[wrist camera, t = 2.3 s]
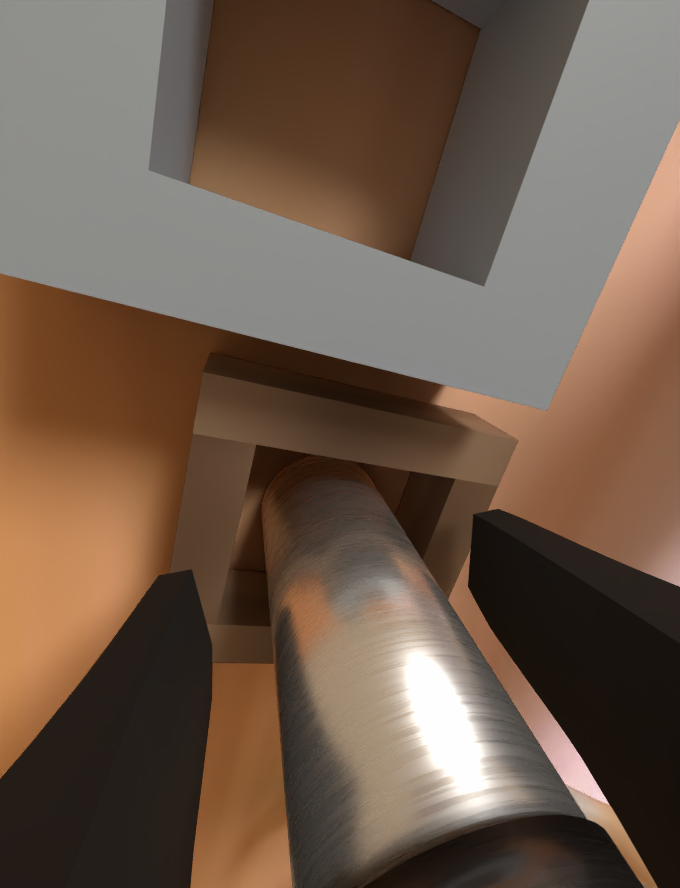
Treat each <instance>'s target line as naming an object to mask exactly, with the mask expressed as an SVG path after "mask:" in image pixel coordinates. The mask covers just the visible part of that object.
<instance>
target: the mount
mask: <svg viewBox="0 0 680 888" xmlns="http://www.w3.org/2000/svg"><path fill="white" fill-rule="evenodd" d="M517 442H518V440H517V439H515V438H513V437H512V436H510V435H508V434H507V433H505V432H503V431H501V430H500V429H498V428H496V427H495V426H493V425H491V424H490V423H488V422H486V421H485V420H483V419H481V418H480V417H478V416H476V415H475V414H472V413H467V412H463V411H459V410H454V409H450V408H446V407H442V406H437V405H433V404H429V403H424V402H420V401H416V400H411V399H407V398H403V397H398V396H394V395H390V394H385V393H381V392H377V391H373V390H368V389H364V388H360V387H355V386H351V385H347V384H342V383H338V382H334V381H329V380H325V379H321V378H317V377H312V376H308V375H304V374H299V373H295V372H291V371H286V370H282V369H278V368H273V367H269V366H265V365H261V364H256V363H252V362H248V361H243V360H239V359H235V358H230V357H226V356H222V355H217V354H213V353H210V356H209V358H208V361H207V363H206V365H205V368H204V370H203V374H202V380H201V386H200V392H199V398H198V404H197V410H196V416H195V422H194V428H193V434H192V440H191V446H190V452H189V458H188V464H187V470H186V476H185V482H184V488H183V494H182V500H181V506H180V512H179V518H178V524H177V530H176V536H175V542H174V548H173V554H172V560H171V566H170V572H169V573H175V572H180V571H185V570H190V569H192V571H193V575H194V579H195V582H196V586H197V590H198V594H199V597H200V601H201V605H202V608H203V612H204V616H205V619H206V623H207V627H208V630H209V634H210V638H211V642H212V663H267V664H274V657H273V645H272V633H271V621H270V609H269V597H268V585H267V573H266V572H257V571H244V570H231V569H229V565H230V561H231V556H232V552H233V547H234V543H235V538H236V534H237V529H238V525H239V520H240V516H241V511H242V507H243V502H244V498H245V493H246V489H247V484H248V480H249V475H250V471H251V466H252V462H253V457H254V453H255V448H256V445H262V446H268V447H274V448H279V449H285V450H291V451H297V452H303V453H308V454H314V455H320V456H326V457H332V458H337V459H343V460H349V461H355V462H361V463H366V464H372V465H378V466H384V467H390V468H395V469H401V470H407V471H412V472H411V475H410V478H409V480H408V483H407V486H406V489H405V491H404V494H403V497H402V500H401V502H400V505H399V508H398V511H397V513H396V516H395V518H396V519H397V521H398V523H399V524H400V526H401V527H402V529H403V530H404V532H405V534H406V535H407V537H408V538H409V540H410V541H411V543H412V545H413V546H414V548H415V549H416V551H417V552H418V554H419V556H420V557H421V559H422V560H423V562H424V563H425V565H426V567H427V568H428V570H429V571H430V573H431V574H432V576H433V578H434V579H435V581H436V582H437V584H438V585H439V587H440V589H441V590H442V592H443V593H444V595H445V596H446V598H447V600H448V598H449V596H450V593H451V591H452V589H453V587H454V584H455V582H456V580H457V578H458V575H459V573H460V571H461V569H462V566H463V564H464V562H465V560H466V557H467V555H468V553H469V551H470V548H471V538H472V524H473V514H476V513H481V512H486V511H487V510H488V508H489V505H490V503H491V501H492V499H493V496H494V494H495V492H496V490H497V487H498V485H499V483H500V481H501V478H502V476H503V474H504V472H505V469H506V467H507V465H508V463H509V460H510V458H511V456H512V454H513V451H514V449H515V447H516V444H517Z"/></svg>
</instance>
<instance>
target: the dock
mask: <svg viewBox="0 0 680 888" xmlns="http://www.w3.org/2000/svg"><path fill="white" fill-rule="evenodd" d="M431 1H433V2H435V3H436V4H438V5H440V6H442V7H443V8H445V9H447V10H449V11H450V12H452V13H454V14H456V15H457V16H459V17H461V18H463V19H464V20H466V21H468V22H470V23H471V24H473V25H475V26H477V27H478V28H480V32H479V36H478V39H477V42H476V45H475V49H474V52H473V55H472V59H471V62H470V65H469V68H468V72H467V75H466V78H465V82H464V85H463V88H462V91H461V95H460V98H459V101H458V104H457V108H456V111H455V114H454V118H453V121H452V124H451V127H450V131H449V134H448V137H447V141H446V144H445V147H444V150H443V154H442V157H441V160H440V163H439V167H438V170H437V173H436V177H435V180H434V183H433V186H432V190H431V193H430V196H429V200H428V203H427V206H426V209H425V213H424V216H423V219H422V223H421V226H420V229H419V232H418V236H417V239H416V242H415V245H414V249H413V252H412V255H411V259H410V261H409V260H406V259H403V258H400V257H397V256H394V255H391V254H388V253H386V252H383V251H380V250H377V249H374V248H371V247H368V246H365V245H362V244H360V243H357V242H354V241H351V240H348V239H345V238H342V237H339V236H337V235H334V234H331V233H328V232H325V231H322V230H319V229H316V228H313V227H311V226H308V225H305V224H302V223H299V222H296V221H293V220H290V219H288V218H285V217H282V216H279V215H276V214H273V213H270V212H267V211H265V210H262V209H259V208H256V207H253V206H250V205H247V204H244V203H241V202H239V201H236V200H233V199H230V198H227V197H224V196H221V195H218V194H216V193H213V192H210V191H207V190H204V189H201V188H198V187H195V186H192V185H190V184H189V183H190V176H191V168H192V161H193V154H194V146H195V139H196V131H197V124H198V117H199V109H200V102H201V95H202V87H203V80H204V72H205V65H206V58H207V50H208V43H209V36H210V28H211V21H212V13H213V6H214V0H0V274H4V275H8V276H12V277H16V278H20V279H24V280H28V281H32V282H36V283H40V284H44V285H48V286H52V287H56V288H60V289H64V290H68V291H72V292H76V293H80V294H84V295H88V296H92V297H96V298H100V299H104V300H108V301H112V302H116V303H120V304H124V305H128V306H132V307H136V308H140V309H144V310H148V311H152V312H156V313H160V314H164V315H168V316H172V317H176V318H180V319H183V320H187V321H191V322H195V323H199V324H203V325H207V326H211V327H215V328H219V329H223V330H227V331H231V332H235V333H239V334H243V335H247V336H251V337H255V338H259V339H263V340H267V341H271V342H275V343H279V344H283V345H287V346H291V347H295V348H299V349H303V350H307V351H311V352H315V353H319V354H323V355H327V356H331V357H335V358H339V359H343V360H347V361H351V362H355V363H359V364H363V365H367V366H371V367H375V368H379V369H383V370H387V371H391V372H395V373H399V374H403V375H407V376H410V377H414V378H418V379H422V380H426V381H430V382H434V383H438V384H442V385H446V386H450V387H454V388H458V389H462V390H466V391H470V392H474V393H478V394H482V395H486V396H490V397H494V398H498V399H502V400H506V401H510V402H514V403H518V404H522V405H526V406H530V407H534V408H538V409H542V410H546V411H547V409H548V407H549V405H550V403H551V401H552V398H553V396H554V394H555V392H556V390H557V387H558V385H559V383H560V381H561V379H562V376H563V374H564V372H565V370H566V368H567V365H568V363H569V361H570V359H571V357H572V354H573V352H574V350H575V348H576V346H577V344H578V341H579V339H580V337H581V335H582V333H583V330H584V328H585V326H586V324H587V322H588V319H589V317H590V315H591V313H592V311H593V308H594V306H595V304H596V302H597V300H598V297H599V295H600V293H601V291H602V289H603V286H604V284H605V282H606V280H607V278H608V275H609V273H610V271H611V269H612V267H613V265H614V262H615V260H616V258H617V256H618V254H619V251H620V249H621V247H622V245H623V243H624V240H625V238H626V236H627V234H628V232H629V229H630V227H631V225H632V223H633V221H634V218H635V216H636V214H637V212H638V210H639V207H640V205H641V203H642V201H643V199H644V196H645V194H646V192H647V190H648V188H649V185H650V183H651V181H652V179H653V177H654V175H655V172H656V170H657V168H658V166H659V164H660V161H661V159H662V157H663V155H664V153H665V150H666V148H667V146H668V144H669V142H670V139H671V137H672V135H673V133H674V131H675V128H676V126H677V124H678V122H679V120H680V0H431Z"/></svg>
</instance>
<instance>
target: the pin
mask: <svg viewBox="0 0 680 888" xmlns="http://www.w3.org/2000/svg"><path fill="white" fill-rule="evenodd" d="M262 525H263V537H264V549H265V561H266V573H267V585H268V597H269V609H270V621H271V633H272V645H273V657H274V669H275V681H276V693H277V705H278V718H279V730H280V742H281V754H282V766H283V778H284V790H285V802H286V814H287V826H288V838H289V850H290V862H291V874H292V886H293V888H644V887H643V886H642V884H641V882H640V881H639V879H638V878H637V876H636V875H635V873H634V872H633V870H632V869H631V867H630V866H629V864H628V863H627V861H626V860H625V858H624V857H623V855H622V854H621V852H620V851H619V849H618V848H617V846H616V844H615V843H614V841H613V840H612V838H611V837H610V835H609V834H608V833H607V832H606V830H605V829H604V828H603V827H601V826H600V825H599V824H597V823H596V822H593V821H591V820H588V819H587V818H586V817H585V815H584V813H583V812H582V810H581V809H580V807H579V806H578V804H577V802H576V801H575V799H574V798H573V796H572V795H571V793H570V791H569V790H568V788H567V787H566V785H565V784H564V782H563V780H562V779H561V777H560V776H559V774H558V773H557V771H556V769H555V768H554V766H553V765H552V763H551V762H550V760H549V758H548V757H547V755H546V754H545V752H544V751H543V749H542V747H541V746H540V744H539V743H538V741H537V740H536V738H535V736H534V735H533V733H532V732H531V730H530V729H529V727H528V725H527V724H526V722H525V721H524V719H523V718H522V716H521V714H520V713H519V711H518V710H517V708H516V707H515V705H514V703H513V702H512V700H511V699H510V697H509V696H508V694H507V692H506V691H505V689H504V688H503V686H502V685H501V683H500V681H499V680H498V678H497V677H496V675H495V674H494V672H493V670H492V669H491V667H490V666H489V664H488V663H487V661H486V659H485V658H484V656H483V655H482V653H481V651H480V650H479V648H478V647H477V645H476V644H475V642H474V640H473V639H472V637H471V636H470V634H469V633H468V631H467V629H466V628H465V626H464V625H463V623H462V622H461V620H460V618H459V617H458V615H457V614H456V612H455V611H454V609H453V607H452V606H451V604H450V603H449V601H448V600H447V598H446V596H445V595H444V593H443V592H442V590H441V589H440V587H439V585H438V584H437V582H436V581H435V579H434V578H433V576H432V574H431V573H430V571H429V570H428V568H427V567H426V565H425V563H424V562H423V560H422V559H421V557H420V556H419V554H418V552H417V551H416V549H415V548H414V546H413V545H412V543H411V541H410V540H409V538H408V537H407V535H406V534H405V532H404V530H403V529H402V527H401V526H400V524H399V523H398V521H397V519H396V518H395V516H394V515H393V513H392V512H391V510H390V508H389V507H388V505H387V504H386V502H385V501H384V499H383V497H382V496H381V494H380V493H379V491H378V490H377V488H376V486H375V485H374V483H373V482H372V480H371V479H370V477H369V476H368V474H367V473H366V472H365V470H364V469H363V468H362V467H360V466H359V465H358V464H357V463H355V462H353V461H349V460H343V459H337V458H332V457H326V456H320V455H312V456H308V457H304V458H302V459H299V460H297V461H295V462H293V463H291V464H289V465H288V466H286V467H285V468H284V469H282V470H281V471H280V472H279V473H278V474H277V475H276V476H275V477H274V478H273V480H272V481H271V483H270V484H269V486H268V487H267V489H266V492H265V494H264V497H263V501H262Z"/></svg>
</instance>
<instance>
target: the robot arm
mask: <svg viewBox="0 0 680 888" xmlns="http://www.w3.org/2000/svg"><path fill="white" fill-rule="evenodd" d="M468 587H469V589H470V591H471V593H472V595H473V597H474V599H475V601H476V603H477V604H478V606H479V608H480V610H481V612H482V614H483V615H484V617H485V619H486V621H487V623H488V624H489V626H490V628H491V629H492V631H493V632H494V634H495V635H496V637H497V638H498V640H499V641H500V643H501V644H502V645H503V647H504V648H505V650H506V651H507V652H508V654H509V655H510V657H511V658H512V660H513V661H514V662H515V664H516V665H517V667H518V668H519V669H520V671H521V672H522V674H523V675H524V676H525V678H526V679H527V681H528V682H529V683H530V685H531V686H532V687H533V689H534V690H535V692H536V693H537V694H538V696H539V697H540V699H541V700H542V701H543V703H544V704H545V706H546V707H547V708H548V710H549V711H550V713H551V714H552V715H553V717H554V718H555V720H556V721H557V722H558V724H559V725H560V727H561V728H562V729H563V731H564V732H565V734H566V735H567V737H568V738H569V740H570V741H571V743H572V744H573V746H574V747H575V749H576V750H577V752H578V753H579V755H580V756H581V758H582V759H583V761H584V763H585V764H586V766H587V768H588V769H589V771H590V773H591V774H592V776H593V778H594V779H595V781H596V783H597V784H598V786H599V788H600V789H601V791H602V793H603V794H604V796H605V797H606V799H607V801H608V802H609V804H610V806H611V807H612V809H613V811H614V812H615V814H616V816H617V817H618V819H619V821H620V823H621V824H622V826H623V828H624V830H625V831H626V833H627V835H628V837H629V838H630V840H631V842H632V844H633V845H634V847H635V849H636V850H637V852H638V854H639V856H640V857H641V859H642V861H643V863H644V864H645V866H646V868H647V870H648V871H649V873H650V875H651V877H652V878H653V880H654V882H655V884H656V885H657V887H658V888H680V587H679V586H676V585H674V584H671V583H669V582H666V581H664V580H661V579H659V578H656V577H654V576H651V575H649V574H646V573H644V572H641V571H639V570H636V569H634V568H632V567H629V566H627V565H625V564H622V563H620V562H618V561H615V560H613V559H611V558H608V557H606V556H604V555H602V554H599V553H597V552H595V551H593V550H590V549H588V548H586V547H584V546H581V545H579V544H577V543H575V542H573V541H571V540H568V539H566V538H564V537H562V536H560V535H557V534H555V533H553V532H551V531H549V530H546V529H544V528H542V527H540V526H538V525H535V524H533V523H531V522H529V521H527V520H524V519H522V518H520V517H517V516H515V515H513V514H510V513H508V512H505V511H502V510H500V509H496V510H491V511H486V512H481V513H476V514H473V524H472V538H471V552H470V566H469V580H468ZM211 701H212V642H211V638H210V634H209V630H208V627H207V623H206V619H205V616H204V612H203V608H202V605H201V601H200V597H199V594H198V590H197V586H196V582H195V579H194V575H193V571H192V569H190V570H185V571H180V572H175V573H169V574H164V575H159V576H158V578H157V579H156V580H155V581H154V583H153V584H152V585H151V587H150V588H149V590H148V591H147V592H146V594H145V595H144V596H143V598H142V599H141V601H140V602H139V604H138V605H137V606H136V608H135V609H134V611H133V612H132V613H131V615H130V616H129V618H128V619H127V620H126V622H125V623H124V624H123V626H122V627H121V629H120V630H119V631H118V633H117V634H116V636H115V637H114V638H113V640H112V641H111V642H110V644H109V645H108V646H107V648H106V649H105V650H104V652H103V653H102V654H101V656H100V657H99V658H98V660H97V661H96V662H95V664H94V665H93V666H92V668H91V669H90V670H89V672H88V673H87V674H86V676H85V677H84V678H83V679H82V681H81V682H80V683H79V685H78V686H77V687H76V688H75V690H74V691H73V692H72V693H71V695H70V696H69V697H68V698H67V700H66V701H65V702H64V703H63V704H62V706H61V707H60V708H59V709H58V711H57V712H56V713H55V714H54V716H53V717H52V718H51V719H50V720H49V722H48V723H47V724H46V725H45V727H44V728H43V729H42V730H41V732H40V733H39V734H38V735H37V736H36V738H35V739H34V740H33V741H32V743H31V744H30V745H29V746H28V747H27V749H26V750H25V751H24V752H23V753H22V754H21V756H20V757H19V758H18V759H17V760H16V761H15V762H14V764H13V765H12V766H11V767H10V768H9V769H8V771H7V772H6V773H5V774H4V775H3V776H2V777H1V779H0V888H190V884H191V873H192V862H193V850H194V842H195V833H196V825H197V817H198V809H199V801H200V793H201V785H202V777H203V769H204V760H205V752H206V744H207V736H208V727H209V719H210V710H211Z"/></svg>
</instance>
